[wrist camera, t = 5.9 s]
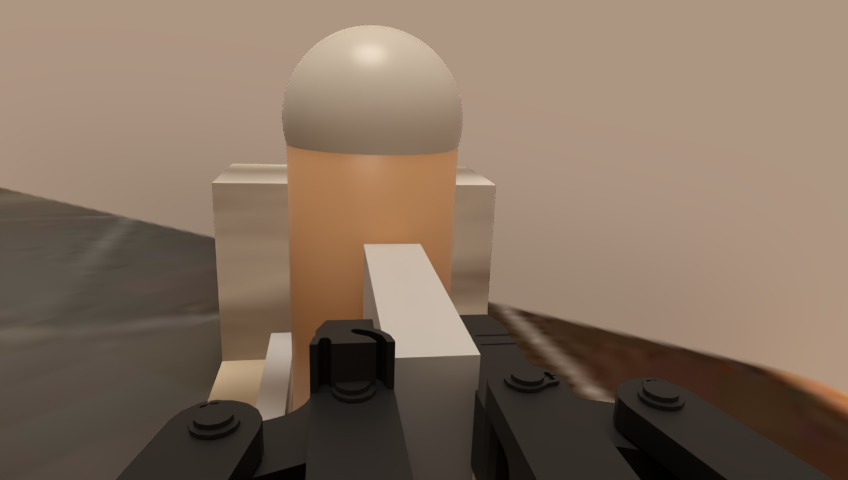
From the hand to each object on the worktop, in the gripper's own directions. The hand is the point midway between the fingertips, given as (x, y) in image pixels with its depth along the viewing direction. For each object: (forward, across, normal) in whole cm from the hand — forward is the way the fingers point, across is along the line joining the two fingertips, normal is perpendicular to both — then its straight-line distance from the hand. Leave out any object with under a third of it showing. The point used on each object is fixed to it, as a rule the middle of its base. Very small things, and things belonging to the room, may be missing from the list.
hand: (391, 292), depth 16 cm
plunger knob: (+3, 0, -7) cm, 7 cm away
